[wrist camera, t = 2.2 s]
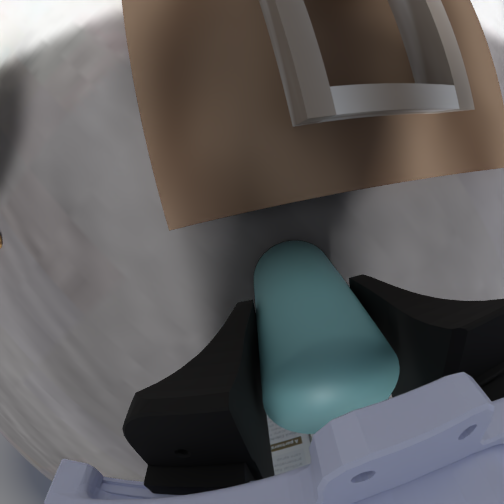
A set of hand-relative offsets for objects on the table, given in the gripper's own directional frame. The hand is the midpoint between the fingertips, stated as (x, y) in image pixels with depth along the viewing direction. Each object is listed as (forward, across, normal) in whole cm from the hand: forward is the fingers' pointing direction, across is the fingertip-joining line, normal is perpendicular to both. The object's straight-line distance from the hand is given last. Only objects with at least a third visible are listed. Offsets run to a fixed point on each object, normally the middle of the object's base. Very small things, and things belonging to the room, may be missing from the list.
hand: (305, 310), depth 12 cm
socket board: (+3, -5, -11) cm, 13 cm away
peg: (+3, 0, 0) cm, 3 cm away
